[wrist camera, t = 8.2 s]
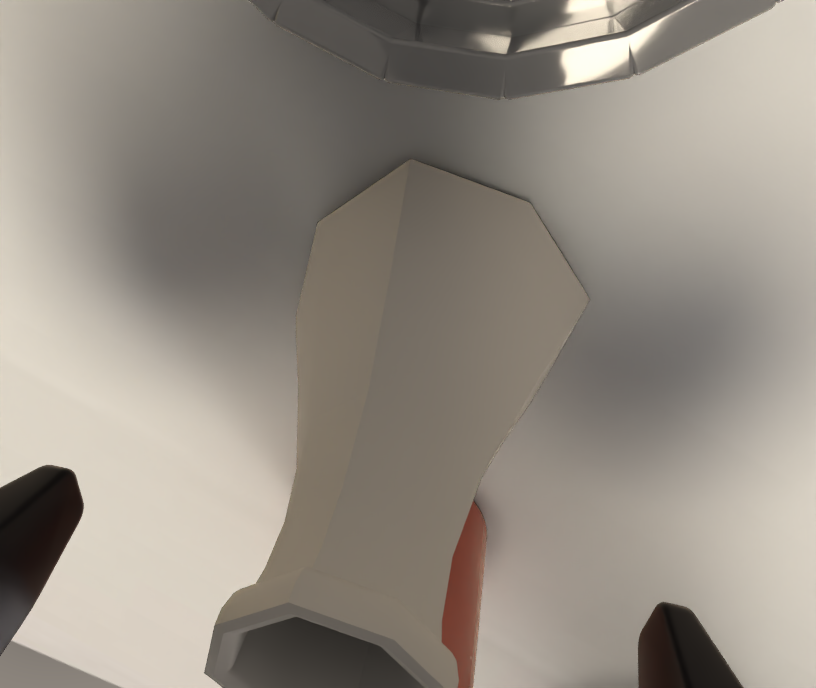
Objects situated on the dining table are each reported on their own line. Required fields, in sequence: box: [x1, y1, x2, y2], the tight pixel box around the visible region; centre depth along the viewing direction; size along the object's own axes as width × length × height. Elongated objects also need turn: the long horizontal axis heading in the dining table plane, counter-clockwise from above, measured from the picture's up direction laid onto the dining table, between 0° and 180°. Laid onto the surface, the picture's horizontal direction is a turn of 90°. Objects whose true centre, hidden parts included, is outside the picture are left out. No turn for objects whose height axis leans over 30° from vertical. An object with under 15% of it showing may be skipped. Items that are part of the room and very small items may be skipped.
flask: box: [204, 159, 590, 688], centre depth 12 cm, size 7×7×10 cm
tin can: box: [442, 501, 487, 688], centre depth 18 cm, size 6×6×8 cm
